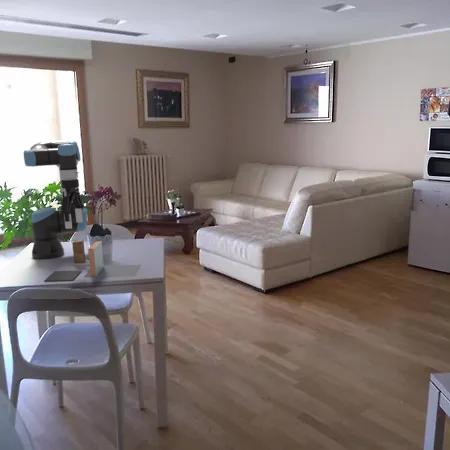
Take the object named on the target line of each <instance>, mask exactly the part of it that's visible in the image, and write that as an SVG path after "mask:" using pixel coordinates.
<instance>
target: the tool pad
mask: <svg viewBox="0 0 450 450" xmlns="http://www.w3.org/2000/svg"><path fill="white" fill-rule="evenodd" d="M81 273H82V270H54V271H53V272H51V274H50V275H48V276H47V277H46V278H45V279H43V281H44V282H45V283H47V282H49V283H50V282H73V281H75V280H76V279H77V278H78V276H80V274H81Z"/></svg>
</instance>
